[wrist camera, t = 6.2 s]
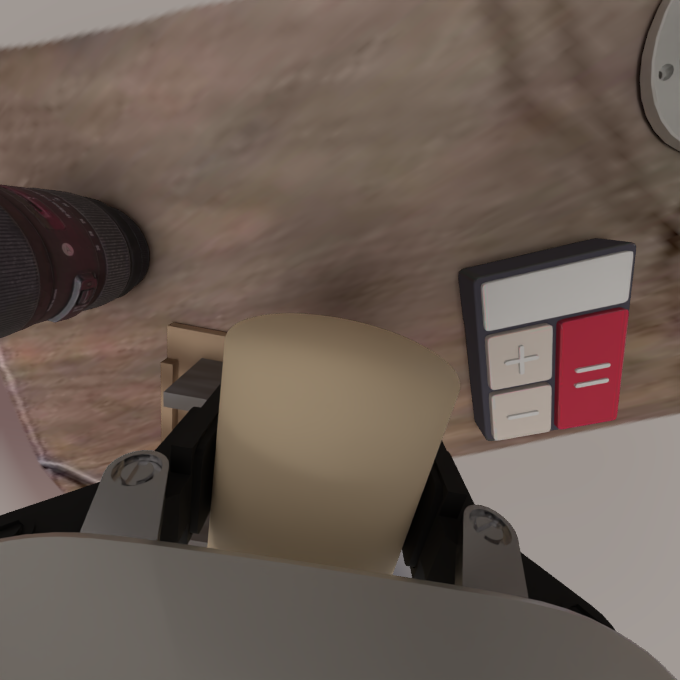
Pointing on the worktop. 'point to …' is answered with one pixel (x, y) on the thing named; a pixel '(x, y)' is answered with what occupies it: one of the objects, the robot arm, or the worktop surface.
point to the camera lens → (63, 256)
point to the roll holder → (189, 381)
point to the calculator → (547, 337)
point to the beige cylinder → (324, 439)
